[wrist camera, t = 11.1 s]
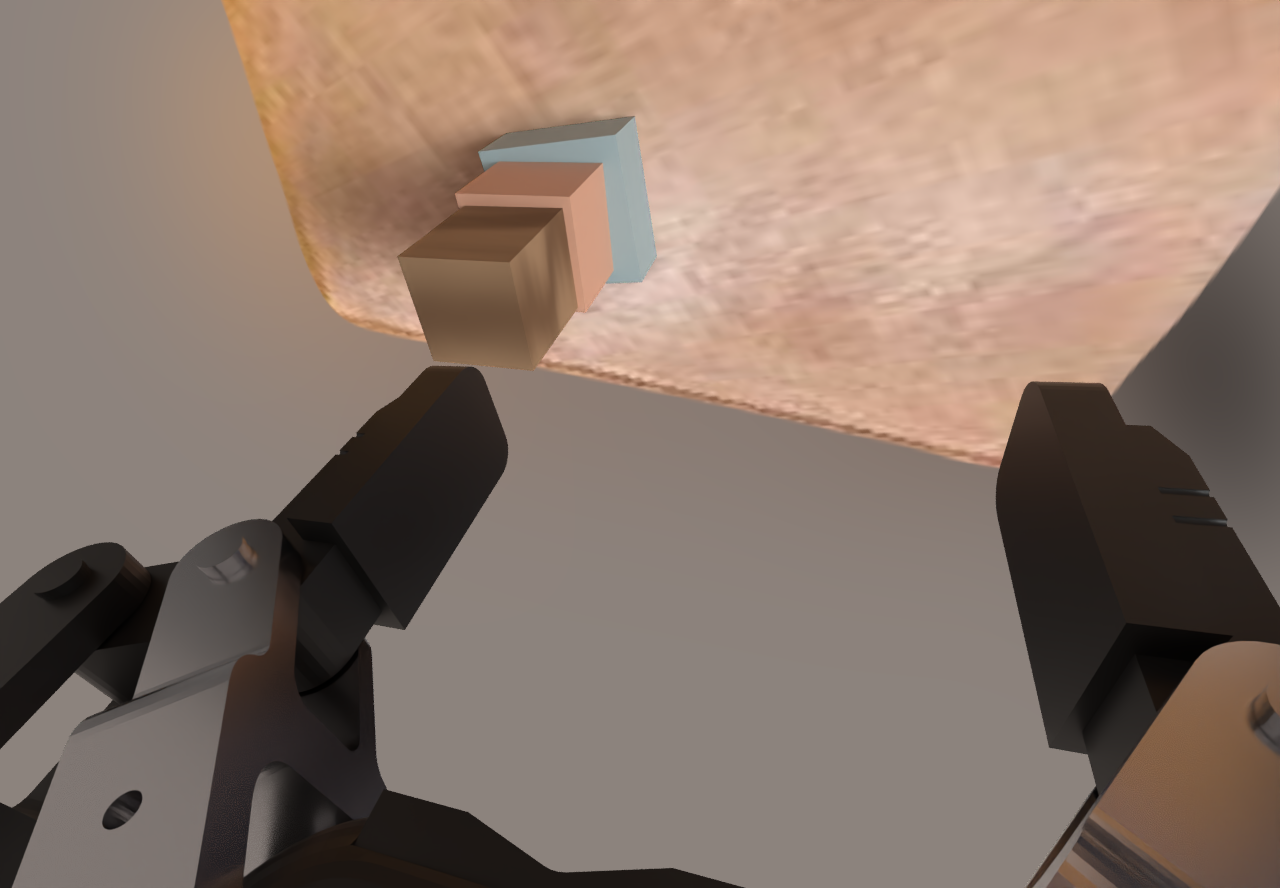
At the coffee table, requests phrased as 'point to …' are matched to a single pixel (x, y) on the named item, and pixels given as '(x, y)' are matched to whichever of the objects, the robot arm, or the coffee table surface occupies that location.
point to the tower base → (621, 174)
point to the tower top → (556, 188)
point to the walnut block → (492, 285)
